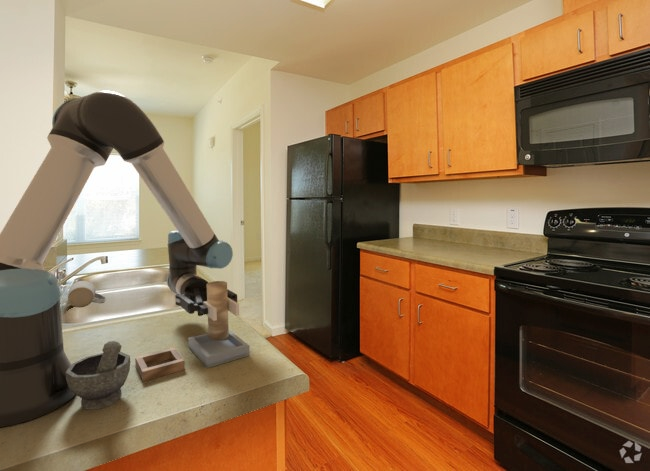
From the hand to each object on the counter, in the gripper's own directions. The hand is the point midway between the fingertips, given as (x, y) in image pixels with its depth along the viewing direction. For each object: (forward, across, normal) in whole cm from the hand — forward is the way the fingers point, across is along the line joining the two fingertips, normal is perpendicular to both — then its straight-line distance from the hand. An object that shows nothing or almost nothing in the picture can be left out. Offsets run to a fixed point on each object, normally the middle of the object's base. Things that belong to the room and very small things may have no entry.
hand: (226, 312), depth 78 cm
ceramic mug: (-68, +23, -12) cm, 72 cm away
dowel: (-5, 0, -8) cm, 9 cm away
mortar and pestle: (+2, +24, -11) cm, 27 cm away
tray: (-5, 0, -11) cm, 12 cm away
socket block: (-5, +13, -11) cm, 18 cm away
